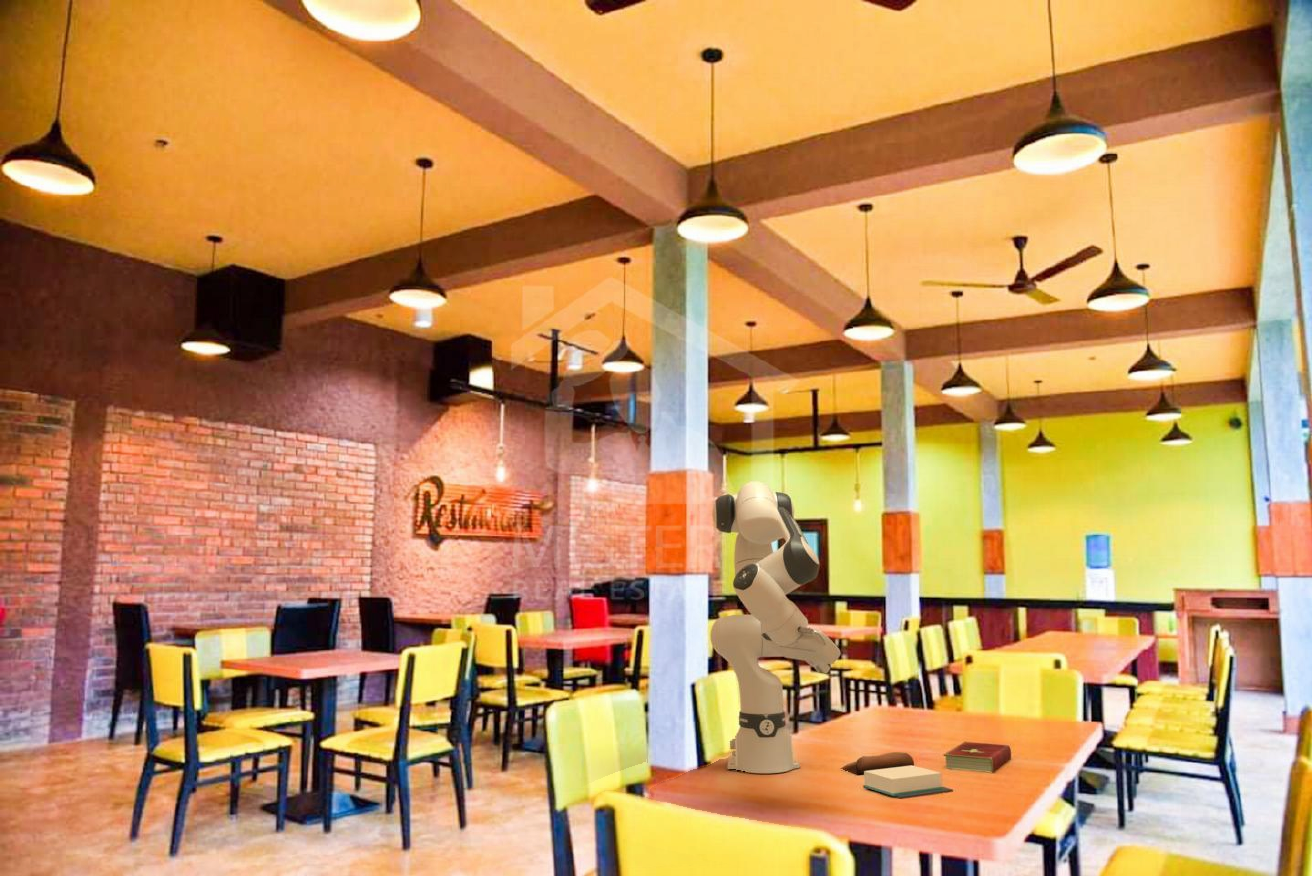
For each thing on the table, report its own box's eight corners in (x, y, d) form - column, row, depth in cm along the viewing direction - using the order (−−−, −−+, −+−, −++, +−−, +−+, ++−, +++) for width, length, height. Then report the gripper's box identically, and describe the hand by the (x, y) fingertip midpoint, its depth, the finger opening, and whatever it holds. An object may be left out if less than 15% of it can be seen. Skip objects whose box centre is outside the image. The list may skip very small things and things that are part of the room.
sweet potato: (892, 762, 238) (900, 741, 236) (909, 781, 232) (917, 760, 230) (837, 769, 230) (844, 748, 228) (852, 788, 224) (860, 767, 222)
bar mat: (900, 798, 198) (900, 796, 198) (863, 787, 210) (863, 785, 210) (953, 791, 204) (952, 789, 204) (914, 780, 216) (914, 778, 216)
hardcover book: (1011, 760, 241) (1010, 744, 241) (993, 775, 223) (992, 757, 224) (965, 756, 247) (964, 740, 248) (944, 770, 230) (943, 753, 230)
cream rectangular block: (892, 779, 200) (941, 773, 206) (863, 771, 209) (911, 765, 215) (892, 796, 199) (942, 789, 205) (864, 787, 208) (912, 780, 214)
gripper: (823, 618, 194) (861, 664, 196) (772, 614, 212) (807, 656, 214) (805, 640, 191) (844, 686, 193) (756, 634, 209) (792, 676, 212)
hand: (824, 670), depth 204 cm, fingers closed
